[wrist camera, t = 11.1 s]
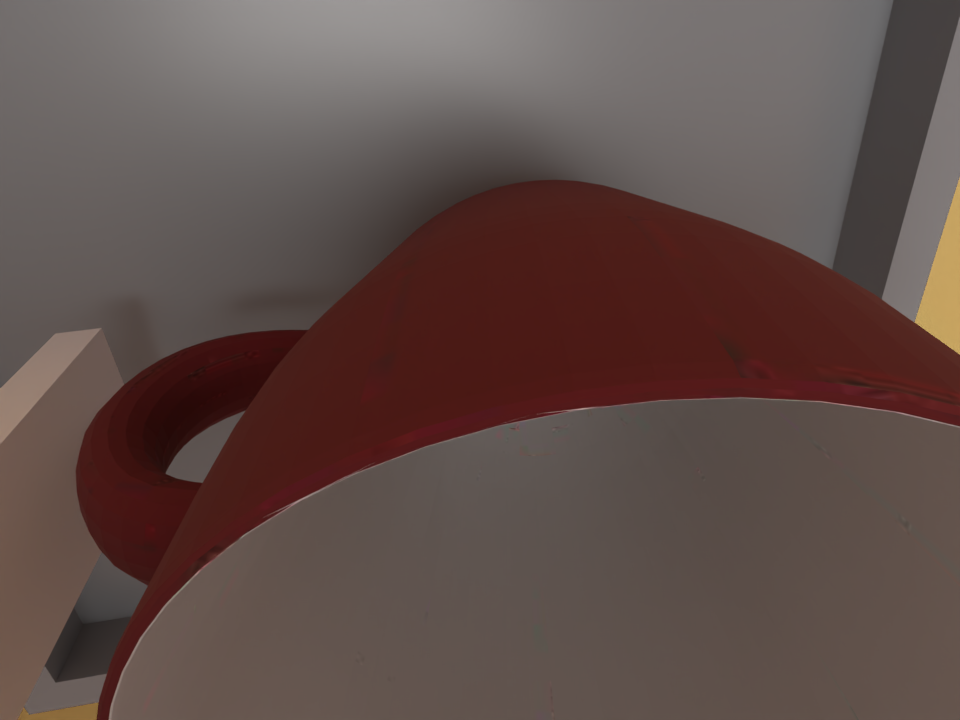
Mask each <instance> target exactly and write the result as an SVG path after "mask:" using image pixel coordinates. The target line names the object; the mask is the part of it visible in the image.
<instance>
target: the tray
mask: <svg viewBox="0 0 960 720" xmlns="http://www.w3.org/2000/svg"><path fill="white" fill-rule="evenodd" d="M959 177H960V0H0V388H1V387H2V386H3V385H4V384H5V383H6V382H7V381H8V380H9V379H10V378H11V377H12V376H13V375H14V374H15V373H16V372H17V371H18V370H19V369H20V368H21V367H22V366H23V365H24V364H25V363H26V362H27V361H28V360H29V359H30V358H31V357H32V356H33V355H34V354H35V353H36V352H37V351H38V350H39V349H40V348H41V347H42V346H43V345H44V344H45V343H46V342H47V341H48V340H49V339H50V338H51V337H52V336H53V335H54V334H55V333H64V332H72V331H81V330H89V329H97V328H102V331H103V333H104V336H105V338H106V341H107V343H108V346H109V348H110V351H111V353H112V356H113V358H114V361H115V363H116V366H117V368H118V371H119V373H120V376H121V378H122V381H123V383H124V384H126V383H127V382H128V381H130V380H131V379H132V378H133V377H135V376H136V375H137V374H138V373H140V372H141V371H142V370H144V369H146V368H147V367H149V366H151V365H152V364H154V363H156V362H157V361H159V360H161V359H163V358H165V357H167V356H169V355H171V354H173V353H176V352H178V351H180V350H182V349H185V348H187V347H190V346H193V345H196V344H199V343H202V342H205V341H209V340H213V339H217V338H221V337H225V336H230V335H236V334H242V333H248V332H258V331H269V330H309V329H310V328H311V326H312V325H313V324H314V323H315V322H316V321H317V320H318V319H319V318H320V317H321V316H322V315H323V314H324V313H325V312H326V311H327V310H328V309H330V308H331V307H332V306H333V305H334V304H335V303H336V302H337V301H338V300H339V299H341V298H342V297H343V296H344V295H345V294H346V293H347V292H348V291H349V290H351V289H352V288H353V287H354V286H355V285H356V284H357V283H358V282H359V281H360V280H362V279H363V278H364V277H365V276H366V275H367V274H368V273H369V272H370V271H371V270H373V269H374V268H375V267H376V266H377V265H378V264H379V263H380V262H381V261H383V260H384V259H385V258H386V257H387V256H388V255H389V254H390V253H391V252H392V251H394V250H395V249H396V248H397V247H398V246H399V245H400V244H401V243H402V242H403V241H405V240H406V239H407V238H408V237H409V236H410V235H411V234H412V233H413V232H415V231H416V230H417V229H418V228H419V227H421V226H422V225H423V224H425V223H426V222H428V221H429V220H430V219H432V218H433V217H434V216H436V215H437V214H439V213H441V212H442V211H444V210H446V209H448V208H449V207H451V206H453V205H454V204H456V203H458V202H460V201H463V200H465V199H467V198H469V197H471V196H473V195H476V194H479V193H482V192H485V191H487V190H490V189H493V188H497V187H501V186H505V185H509V184H513V183H520V182H527V181H535V180H570V181H581V182H587V183H593V184H599V185H605V186H608V187H612V188H616V189H619V190H623V191H626V192H629V193H633V194H636V195H639V196H642V197H645V198H649V199H652V200H655V201H658V202H661V203H665V204H668V205H671V206H674V207H677V208H681V209H684V210H687V211H690V212H694V213H697V214H700V215H703V216H706V217H710V218H713V219H716V220H719V221H722V222H725V223H728V224H731V225H733V226H736V227H739V228H742V229H744V230H747V231H749V232H752V233H754V234H757V235H759V236H762V237H765V238H767V239H770V240H772V241H775V242H777V243H780V244H782V245H784V246H786V247H789V248H791V249H793V250H795V251H797V252H800V253H802V254H804V255H805V256H807V257H809V258H811V259H813V260H815V261H817V262H819V263H820V264H822V265H824V266H826V267H828V268H830V269H832V270H834V271H835V272H837V273H839V274H841V275H842V276H844V277H846V278H848V279H849V280H851V281H853V282H854V283H856V284H858V285H860V286H861V287H863V288H865V289H866V290H868V291H870V292H872V293H873V294H875V295H876V296H878V297H879V298H880V299H882V300H883V301H885V302H886V303H887V304H889V305H890V306H892V307H893V308H895V309H896V310H897V311H899V312H900V313H902V314H903V315H904V316H906V317H907V318H909V319H910V320H911V321H913V322H915V319H916V315H917V312H918V309H919V306H920V303H921V299H922V296H923V293H924V290H925V286H926V283H927V280H928V277H929V274H930V270H931V267H932V264H933V261H934V257H935V254H936V251H937V248H938V244H939V241H940V238H941V235H942V232H943V228H944V225H945V222H946V219H947V215H948V212H949V209H950V206H951V203H952V199H953V196H954V193H955V190H956V186H957V183H958V180H959ZM244 412H245V411H243V412H241V413H238V414H236V415H233V416H231V417H228V418H226V419H224V420H222V421H220V422H218V423H216V424H214V425H212V426H210V427H209V428H207V429H206V430H204V431H203V432H201V433H200V434H198V435H197V436H195V437H194V438H193V439H191V440H190V441H189V442H188V443H187V444H186V445H184V447H183V448H182V449H181V450H180V451H179V452H178V454H177V455H176V456H175V458H174V459H173V461H172V463H171V464H170V466H169V468H168V469H167V471H166V474H167V475H170V476H172V477H174V478H177V479H182V480H186V481H191V482H200V483H203V481H204V480H205V478H206V476H207V474H208V473H209V471H210V469H211V467H212V466H213V464H214V462H215V460H216V459H217V457H218V455H219V453H220V452H221V450H222V448H223V446H224V444H225V443H226V441H227V439H228V437H229V436H230V434H231V432H232V430H233V429H234V427H235V425H236V424H237V422H238V421H239V420H240V418H241V417H242V415H243V414H244ZM146 588H147V585H146V584H144V583H142V582H140V581H138V580H137V579H135V578H133V577H131V576H129V575H128V574H126V573H125V572H123V571H121V570H120V569H118V568H117V567H115V566H114V565H113V564H112V563H111V562H110V560H109V559H108V558H107V557H106V556H105V555H104V554H103V553H102V552H101V554H100V556H99V558H98V560H97V562H96V564H95V566H94V568H93V570H92V572H91V574H90V576H89V578H88V580H87V582H86V584H85V586H84V588H83V590H82V592H81V594H80V596H79V598H78V600H77V602H76V604H75V606H74V608H73V610H72V612H71V614H70V616H69V618H68V620H67V622H66V624H65V626H64V628H63V630H62V632H61V634H60V636H59V638H58V640H57V642H56V644H55V646H54V648H53V650H52V652H51V654H50V656H49V658H48V660H47V662H46V664H45V666H44V668H43V670H42V672H41V674H40V676H39V678H38V680H37V682H36V684H35V686H34V688H33V690H32V692H31V694H30V696H29V698H28V700H27V702H26V704H25V706H24V708H25V709H26V711H27V712H28V714H29V715H30V714H35V713H41V712H47V711H52V710H58V709H63V708H69V707H75V706H80V705H86V704H91V703H97V702H99V698H100V695H101V691H102V688H103V685H104V682H105V678H106V675H107V672H108V669H109V665H110V663H111V660H112V657H113V655H114V652H115V650H116V647H117V645H118V643H119V641H120V639H121V637H122V635H123V633H124V631H125V629H126V627H127V625H128V623H129V621H130V619H131V617H132V615H133V613H134V611H135V609H136V607H137V605H138V604H139V602H140V600H141V598H142V596H143V594H144V592H145V590H146Z"/></svg>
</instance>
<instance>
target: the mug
mask: <svg viewBox="0 0 960 720" xmlns="http://www.w3.org/2000/svg"><path fill="white" fill-rule="evenodd" d="M243 411H245V412H244V414H243V415H242V417H241V418H240V420H239V421H238V422H237V424H236V425H235V427H234V429H233V430H232V432H231V434H230V436H229V437H228V439H227V441H226V443H225V444H224V446H223V448H222V450H221V452H220V453H219V455H218V457H217V459H216V460H215V462H214V464H213V466H212V467H211V469H210V471H209V473H208V474H207V476H206V478H205V480H204V481H203V483H200V482H191V481H186V480H182V479H177V478H174V477H172V476H170V475H167V474H166V471H167V469H168V468H169V466H170V464H171V463H172V461H173V459H174V458H175V456H176V455H177V454H178V452H179V451H180V450H181V449H182V448H183V447H184V445H186V444H187V443H188V442H189V441H190V440H191V439H193V438H194V437H195V436H197V435H198V434H200V433H201V432H203V431H204V430H206V429H207V428H209V427H210V426H212V425H214V424H216V423H218V422H220V421H222V420H224V419H226V418H228V417H231V416H233V415H236V414H238V413H241V412H243ZM76 487H77V496H78V501H79V506H80V511H81V514H82V516H83V519H84V521H85V523H86V526H87V528H88V531H89V533H90V535H91V536H92V538H93V539H94V541H95V543H96V544H97V546H98V548H99V549H100V550H101V552H102V553H103V554H104V555H105V556H106V557H107V558H108V559H109V560H110V562H111V563H112V564H113V565H114V566H115V567H117V568H118V569H120V570H121V571H123V572H125V573H126V574H128V575H129V576H131V577H133V578H135V579H137V580H138V581H140V582H142V583H144V584H146V585H147V588H146V590H145V592H144V594H143V596H142V598H141V600H140V602H139V604H138V605H137V607H136V609H135V611H134V613H133V615H132V617H131V619H130V621H129V623H128V625H127V627H126V629H125V631H124V633H123V635H122V637H121V639H120V641H119V643H118V645H117V647H116V650H115V652H114V655H113V657H112V660H111V663H110V665H109V669H108V672H107V675H106V678H105V682H104V685H103V688H102V691H101V695H100V698H99V705H98V714H97V720H960V355H959V354H958V353H956V352H955V351H954V350H952V349H951V348H949V347H948V346H947V345H945V344H944V343H942V342H941V341H940V340H938V339H937V338H935V337H934V336H933V335H931V334H930V333H928V332H927V331H926V330H924V329H923V328H921V327H920V326H918V325H917V324H916V323H914V322H913V321H911V320H910V319H909V318H907V317H906V316H904V315H903V314H902V313H900V312H899V311H897V310H896V309H895V308H893V307H892V306H890V305H889V304H887V303H886V302H885V301H883V300H882V299H880V298H879V297H878V296H876V295H875V294H873V293H872V292H870V291H868V290H866V289H865V288H863V287H861V286H860V285H858V284H856V283H854V282H853V281H851V280H849V279H848V278H846V277H844V276H842V275H841V274H839V273H837V272H835V271H834V270H832V269H830V268H828V267H826V266H824V265H822V264H820V263H819V262H817V261H815V260H813V259H811V258H809V257H807V256H805V255H804V254H802V253H800V252H797V251H795V250H793V249H791V248H789V247H786V246H784V245H782V244H780V243H777V242H775V241H772V240H770V239H767V238H765V237H762V236H759V235H757V234H754V233H752V232H749V231H747V230H744V229H742V228H739V227H736V226H733V225H731V224H728V223H725V222H722V221H719V220H716V219H713V218H710V217H706V216H703V215H700V214H697V213H694V212H690V211H687V210H684V209H681V208H677V207H674V206H671V205H668V204H665V203H661V202H658V201H655V200H652V199H649V198H645V197H642V196H639V195H636V194H633V193H629V192H626V191H623V190H619V189H616V188H612V187H608V186H605V185H599V184H593V183H587V182H581V181H570V180H535V181H527V182H520V183H513V184H509V185H505V186H501V187H497V188H493V189H490V190H487V191H485V192H482V193H479V194H476V195H473V196H471V197H469V198H467V199H465V200H463V201H460V202H458V203H456V204H454V205H453V206H451V207H449V208H448V209H446V210H444V211H442V212H441V213H439V214H437V215H436V216H434V217H433V218H432V219H430V220H429V221H428V222H426V223H425V224H423V225H422V226H421V227H419V228H418V229H417V230H416V231H415V232H413V233H412V234H411V235H410V236H409V237H408V238H407V239H406V240H405V241H403V242H402V243H401V244H400V245H399V246H398V247H397V248H396V249H395V250H394V251H392V252H391V253H390V254H389V255H388V256H387V257H386V258H385V259H384V260H383V261H381V262H380V263H379V264H378V265H377V266H376V267H375V268H374V269H373V270H371V271H370V272H369V273H368V274H367V275H366V276H365V277H364V278H363V279H362V280H360V281H359V282H358V283H357V284H356V285H355V286H354V287H353V288H352V289H351V290H349V291H348V292H347V293H346V294H345V295H344V296H343V297H342V298H341V299H339V300H338V301H337V302H336V303H335V304H334V305H333V306H332V307H331V308H330V309H328V310H327V311H326V312H325V313H324V314H323V315H322V316H321V317H320V318H319V319H318V320H317V321H316V322H315V323H314V324H313V325H312V326H311V328H310V329H309V330H269V331H258V332H248V333H242V334H236V335H230V336H225V337H221V338H217V339H213V340H209V341H205V342H202V343H199V344H196V345H193V346H190V347H187V348H185V349H182V350H180V351H178V352H176V353H173V354H171V355H169V356H167V357H165V358H163V359H161V360H159V361H157V362H156V363H154V364H152V365H151V366H149V367H147V368H146V369H144V370H142V371H141V372H140V373H138V374H137V375H136V376H135V377H133V378H132V379H131V380H130V381H128V382H127V383H126V384H124V385H123V386H122V387H121V388H120V389H119V390H118V391H117V392H116V393H115V394H114V395H113V396H112V398H111V399H110V400H109V401H108V402H107V403H106V404H105V405H104V406H103V407H102V408H101V409H100V410H99V411H98V412H97V414H96V415H95V417H94V419H93V420H92V422H91V423H90V425H89V427H88V428H87V430H86V431H85V434H84V438H83V441H82V445H81V448H80V452H79V456H78V461H77V466H76Z"/></svg>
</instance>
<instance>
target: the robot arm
mask: <svg viewBox="0 0 960 720" xmlns="http://www.w3.org/2000/svg"><path fill="white" fill-rule="evenodd" d="M123 385H124V383H123V381H122V378H121V376H120V373H119V371H118V368H117V366H116V363H115V361H114V358H113V356H112V353H111V351H110V348H109V346H108V343H107V341H106V338H105V336H104V333H103V331H102V328H97V329H89V330H81V331H72V332H64V333H55V334H54V335H53V336H52V337H51V338H50V339H49V340H48V341H47V342H46V343H45V344H44V345H43V346H42V347H41V348H40V349H39V350H38V351H37V352H36V353H35V354H34V355H33V356H32V357H31V358H30V359H29V360H28V361H27V362H26V363H25V364H24V365H23V366H22V367H21V368H20V369H19V370H18V371H17V372H16V373H15V374H14V375H13V376H12V377H11V378H10V379H9V380H8V381H7V382H6V383H5V384H4V385H3V386H2V387H1V388H0V720H18V718H19V716H20V714H21V712H22V710H23V708H24V706H25V704H26V702H27V700H28V698H29V696H30V694H31V692H32V690H33V688H34V686H35V684H36V682H37V680H38V678H39V676H40V674H41V672H42V670H43V668H44V666H45V664H46V662H47V660H48V658H49V656H50V654H51V652H52V650H53V648H54V646H55V644H56V642H57V640H58V638H59V636H60V634H61V632H62V630H63V628H64V626H65V624H66V622H67V620H68V618H69V616H70V614H71V612H72V610H73V608H74V606H75V604H76V602H77V600H78V598H79V596H80V594H81V592H82V590H83V588H84V586H85V584H86V582H87V580H88V578H89V576H90V574H91V572H92V570H93V568H94V566H95V564H96V562H97V560H98V558H99V556H100V554H101V550H100V549H99V548H98V546H97V544H96V543H95V541H94V539H93V538H92V536H91V535H90V533H89V531H88V528H87V526H86V523H85V521H84V519H83V516H82V514H81V511H80V506H79V501H78V496H77V487H76V466H77V461H78V456H79V452H80V448H81V445H82V441H83V438H84V434H85V431H86V430H87V428H88V427H89V425H90V423H91V422H92V420H93V419H94V417H95V415H96V414H97V412H98V411H99V410H100V409H101V408H102V407H103V406H104V405H105V404H106V403H107V402H108V401H109V400H110V399H111V398H112V396H113V395H114V394H115V393H116V392H117V391H118V390H119V389H120V388H121V387H122V386H123Z"/></svg>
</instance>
